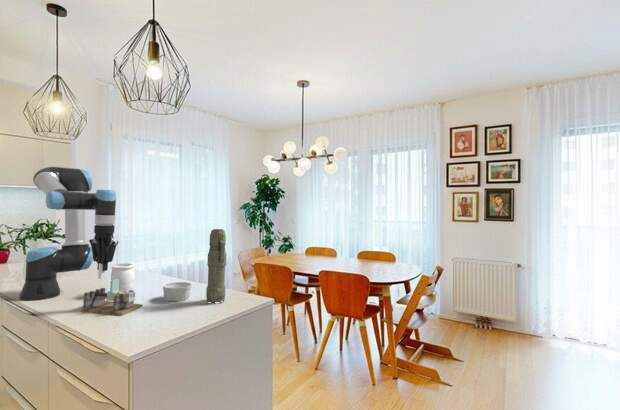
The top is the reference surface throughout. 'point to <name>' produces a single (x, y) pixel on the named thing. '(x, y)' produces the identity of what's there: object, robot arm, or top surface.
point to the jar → (123, 276)
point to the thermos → (216, 266)
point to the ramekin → (177, 291)
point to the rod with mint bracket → (109, 302)
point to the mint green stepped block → (113, 290)
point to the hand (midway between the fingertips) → (102, 277)
